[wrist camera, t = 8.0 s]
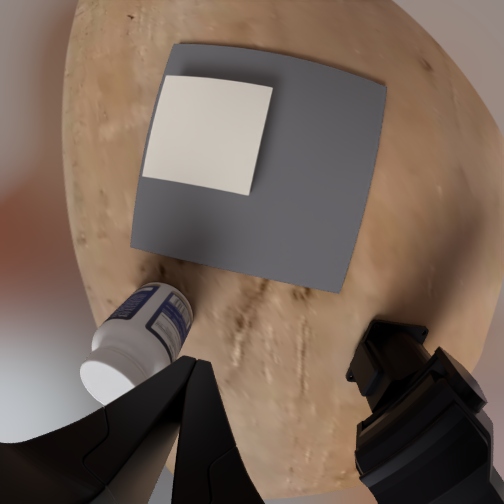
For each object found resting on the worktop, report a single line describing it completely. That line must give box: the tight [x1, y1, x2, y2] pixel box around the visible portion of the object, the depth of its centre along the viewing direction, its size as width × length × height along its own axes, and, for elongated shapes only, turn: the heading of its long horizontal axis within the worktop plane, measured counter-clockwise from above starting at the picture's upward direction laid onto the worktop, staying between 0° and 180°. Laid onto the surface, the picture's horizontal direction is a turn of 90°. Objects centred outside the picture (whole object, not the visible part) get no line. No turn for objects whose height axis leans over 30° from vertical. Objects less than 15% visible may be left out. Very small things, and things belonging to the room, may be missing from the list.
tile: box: [142, 75, 273, 196], centre depth 16 cm, size 2×7×7 cm
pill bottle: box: [80, 282, 193, 405], centre depth 16 cm, size 5×5×10 cm
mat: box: [130, 44, 387, 294], centre depth 17 cm, size 16×16×1 cm
